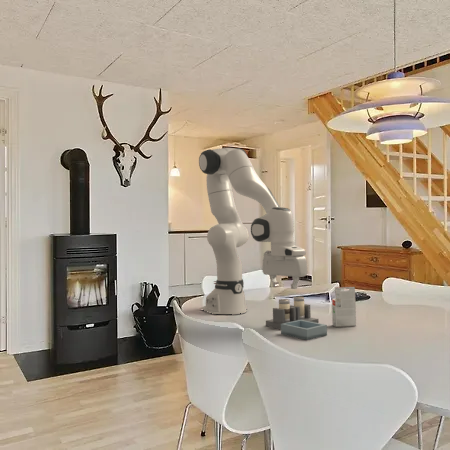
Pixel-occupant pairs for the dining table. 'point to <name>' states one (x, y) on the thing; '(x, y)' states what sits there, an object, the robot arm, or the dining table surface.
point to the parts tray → (304, 329)
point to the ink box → (344, 307)
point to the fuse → (300, 303)
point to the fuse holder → (294, 316)
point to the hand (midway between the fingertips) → (284, 287)
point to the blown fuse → (285, 308)
